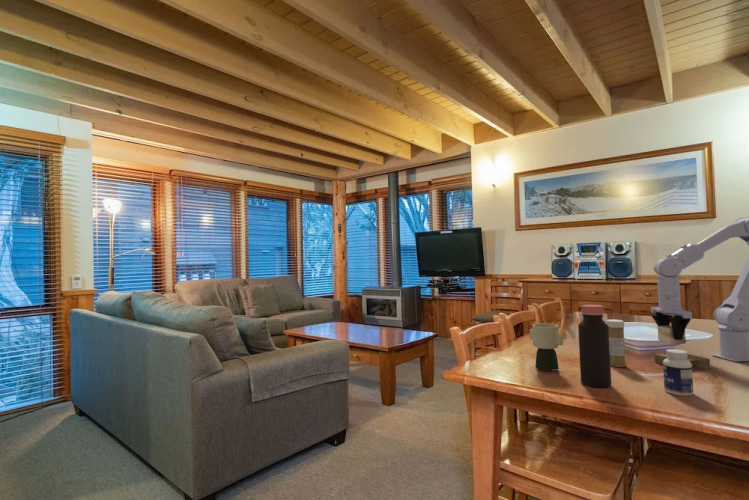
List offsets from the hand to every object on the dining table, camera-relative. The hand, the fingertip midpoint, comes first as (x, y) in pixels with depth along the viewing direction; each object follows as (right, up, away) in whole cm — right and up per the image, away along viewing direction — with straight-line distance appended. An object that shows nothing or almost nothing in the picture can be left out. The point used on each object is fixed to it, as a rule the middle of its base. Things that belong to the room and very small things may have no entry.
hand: (671, 337), depth 125 cm
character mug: (-46, -7, -12) cm, 48 cm away
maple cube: (0, -2, 0) cm, 2 cm away
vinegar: (-39, -6, -26) cm, 48 cm away
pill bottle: (-24, -6, -34) cm, 42 cm away
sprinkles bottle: (-24, -6, -10) cm, 26 cm away
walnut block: (-6, -6, -11) cm, 14 cm away
